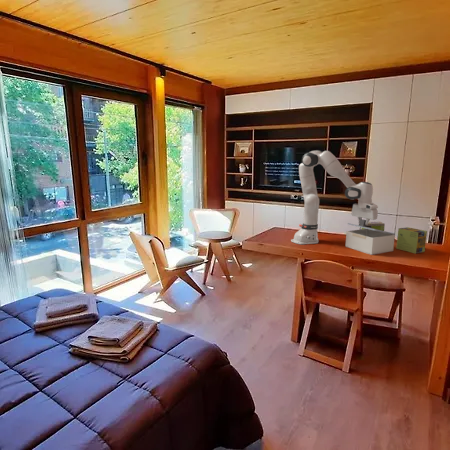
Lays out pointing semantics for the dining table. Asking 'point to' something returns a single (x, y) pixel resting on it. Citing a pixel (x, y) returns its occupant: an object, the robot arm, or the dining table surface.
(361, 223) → the flap
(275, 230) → the dining table surface
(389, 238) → the carton
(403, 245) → the protein box
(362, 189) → the robot arm
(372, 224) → the tea box
